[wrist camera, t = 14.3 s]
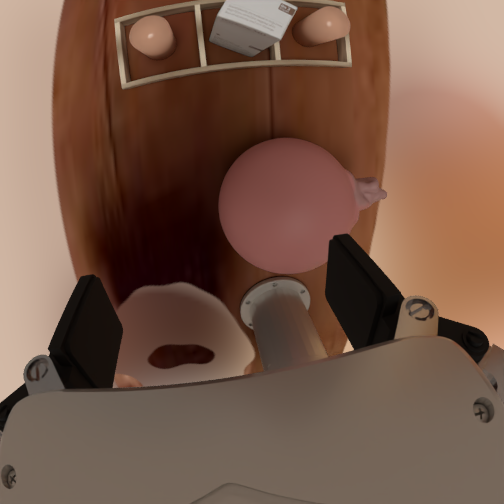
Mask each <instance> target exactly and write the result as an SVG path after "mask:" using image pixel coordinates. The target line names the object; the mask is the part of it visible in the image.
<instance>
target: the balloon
mask: <svg viewBox="0 0 504 504" xmlns="http://www.w3.org/2000/svg"><path fill="white" fill-rule="evenodd" d="M386 197H387V192H386V191H384V190H382V189H381V188H379V183H378V180H377V179H376V178H375V177H368V178H361V179H355V178H354V176H353V174H352V173H351V172H349V171H348V170H346V169H344V168H343V167H342V165H341V164H340V163H339V162H338V161H337V160H336V158H335V157H334V156H332V155H331V154H330V153H329V152H328V151H326V150H325V149H323V148H322V147H320V146H318V145H316V144H314V143H311V142H309V141H305V140H301V139H296V138H276V139H271V140H267V141H264V142H261V143H259V144H257V145H255V146H253V147H251V148H250V149H248V150H247V151H245V152H244V153H243V154H242V155H240V156H239V157H238V158H237V159H236V161H235V162H234V163H233V164H232V166H231V167H230V168H229V170H228V172H227V173H226V175H225V178H224V180H223V183H222V186H221V189H220V194H219V216H220V221H221V225H222V228H223V231H224V233H225V235H226V237H227V239H228V241H229V242H230V244H231V245H232V247H233V248H234V249H235V250H236V251H237V253H238V254H239V255H241V256H242V257H243V258H244V259H245V260H247V261H248V262H249V263H251V264H253V265H254V266H256V267H258V268H261V269H263V270H266V271H269V272H273V273H279V274H296V273H302V272H306V271H309V270H312V269H315V268H317V267H319V266H321V265H322V264H324V263H326V262H327V261H328V248H329V240H330V239H333V236H334V235H339V234H346V233H348V234H350V231H351V229H352V227H353V226H354V225H355V224H356V222H357V221H358V219H359V211H360V210H363V209H366V208H368V207H370V206H371V205H372V203H374V202H376V201H379V200H381V199H385V198H386Z"/></svg>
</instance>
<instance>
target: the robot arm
mask: <svg viewBox="0 0 504 504" xmlns="http://www.w3.org/2000/svg"><path fill="white" fill-rule="evenodd" d="M325 295H326V299H327V301H328V303H329V305H330V307H331V308H332V310H333V312H334V314H335V315H336V317H337V319H338V321H339V323H340V324H341V326H342V328H343V330H344V332H345V334H346V335H347V337H348V339H349V341H350V343H351V345H352V347H353V348H354V350H353V351H350V352H346V353H342V354H338V355H334V356H330V357H328V355H327V352H326V350H325V348H324V346H323V344H322V341H321V339H320V337H319V335H318V333H317V330H316V328H315V326H314V324H313V322H312V320H311V318H310V315H309V313H308V309H309V306H310V295H309V292H308V290H307V288H306V287H305V285H304V284H303V283H301V282H300V281H298V280H296V279H294V278H290V277H274V278H270V279H267V280H264V281H262V282H260V283H258V284H256V285H255V286H253V287H252V288H251V289H250V290H249V291H248V292H247V293H246V294H245V296H244V297H243V299H242V301H241V305H240V313H241V318H242V320H243V322H244V323H245V324H246V325H247V326H248V327H249V328H251V329H253V330H254V333H255V337H256V341H257V345H258V349H259V353H260V357H261V361H262V365H263V369H264V372H259V373H253V374H248V375H242V376H236V377H230V378H223V379H216V380H208V381H201V382H192V383H183V384H172V385H161V386H148V387H130V388H112V387H113V381H114V375H115V370H116V364H117V359H118V353H119V349H120V344H121V339H122V334H123V328H122V324H121V322H120V321H119V319H118V316H117V314H116V312H115V310H114V308H113V306H112V304H111V302H110V300H109V298H108V296H107V293H106V291H105V289H104V287H103V284H102V282H101V280H100V278H98V277H96V276H95V275H93V274H92V275H86V276H81V277H80V279H79V281H78V283H77V285H76V287H75V289H74V291H73V293H72V295H71V297H70V299H69V301H68V303H67V305H66V308H65V310H64V312H63V314H62V317H61V319H60V321H59V323H58V325H57V328H56V330H55V332H54V335H53V337H52V340H51V342H50V345H49V347H48V350H49V351H50V355H49V356H47V355H39V356H36V357H34V358H33V359H32V360H30V361H29V363H28V364H27V365H26V367H25V369H24V374H23V375H24V381H25V383H24V384H23V385H22V386H21V387H19V388H18V389H17V390H16V391H14V392H13V393H12V394H11V395H9V396H8V397H7V398H6V399H5V400H4V401H2V402H1V403H0V504H504V350H503V349H501V348H499V347H498V346H496V345H494V344H493V345H492V347H491V346H489V341H488V338H487V336H486V335H485V334H484V333H483V332H482V331H481V330H479V329H477V328H475V327H472V326H469V325H465V324H462V323H459V322H455V321H452V320H449V319H445V318H442V317H439V316H438V309H437V307H436V305H435V304H434V303H433V302H432V301H430V300H429V299H427V298H425V297H421V296H410V297H407V298H406V299H405V298H404V297H403V296H402V294H401V292H400V291H399V290H398V289H397V287H396V286H395V285H394V284H393V283H392V282H391V280H390V279H389V278H388V277H387V276H386V275H385V274H384V272H383V271H382V270H381V269H380V268H379V267H378V266H377V265H376V263H375V262H374V261H373V260H372V259H371V258H370V257H369V256H368V255H367V253H366V252H365V251H364V250H363V249H362V248H361V247H360V246H359V245H358V244H357V243H356V241H355V240H354V239H353V238H352V237H351V236H350V235H349V234H348V233H346V234H339V235H334V236H333V239H330V240H329V248H328V263H327V277H326V288H325Z"/></svg>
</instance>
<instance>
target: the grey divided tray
mask: <svg viewBox="0 0 504 504" xmlns="http://www.w3.org/2000/svg"><path fill="white" fill-rule="evenodd" d="M225 1H226V0H198V1H191V2H185V3H179V4H173V5H168V6H163V7H159V8H154V9H150V10H146V11H142V12H138V13H134V14H131V15H127V16H124V17H120V18H117V19H114V20H115V33H116V44H117V54H118V62H119V70H120V78H121V85H122V89H130V88H134V87H137V86H141V85H145V84H149V83H154V82H158V81H162V80H167V79H172V78H177V77H182V76H188V75H194V74H200V73H207V72H214V71H222V70H231V69H241V68H253V67H271V66H324V67H342V68H344V67H352V63H351V51H350V40H349V30H350V21H349V19H348V17H347V15H346V8H345V3H341V2H335V1H328V0H284V1H286V2H288V3H290V4H292V5H294V6H297V7H310V8H321V9H319V10H318V11H316V12H314V13H312V14H311V15H309V16H307V17H306V18H304V19H302V20H301V21H299V22H297V23H296V24H295V25H294V27H293V29H292V34H293V37H294V39H295V40H296V41H297V42H298V43H299V44H300V45H302V46H306V47H312V46H316V45H319V44H322V43H325V42H328V41H332V40H335V39H337V49H338V60H339V62H338V61H321V60H281V56H280V46H279V41H278V42H276V43H274V44H273V45H271V46H269V49H270V59H271V60H266V61H249V62H237V63H227V64H218V65H211V66H207V65H206V56H205V48H204V39H203V30H202V21H201V11H200V10H204V9H213V8H221V7H222V6H223V4H224V2H225ZM190 11H195V18H196V27H197V36H198V45H199V54H200V62H201V67H197V68H191V69H185V70H180V71H174V72H169V73H165V74H160V75H156V76H151V77H147V78H143V79H139V80H136V81H132V82H131V79H130V72H129V64H128V56H127V46H126V36H125V26H127V25H130V24H134V23H135V24H134V25H133V27H132V29H131V31H130V35H129V38H130V42H131V44H132V45H133V46H134V47H135V48H136V49H138V50H139V51H141V52H142V53H143V54H145V55H146V56H148V57H149V58H151V59H153V60H163V59H166V58H168V57H169V56H170V55H172V54H173V52H174V51H175V49H176V39H175V37H174V34H173V32H172V30H171V28H170V25H169V23H168V22H167V20H165V19H164V18H163V17H162V16H167V15H172V14H178V13H184V12H190Z"/></svg>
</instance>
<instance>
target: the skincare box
mask: <svg viewBox="0 0 504 504" xmlns="http://www.w3.org/2000/svg"><path fill="white" fill-rule="evenodd" d="M296 10H297V7H296V6H294V5H292V4H290V3H288V2H286V1H284V0H226V1H225V2H224V4H223V6H222V7H221V9H220V11H219V12H218V14H217V16H216V20H215V22H214V25H213V29H212V32H211V35H210V38H209V41H210V42H212V43H214V44H217V45H219V46H222V47H224V48H227V49H230V50H232V51H235V52H238V53H241V54H243V55H246V56H249V57H253V56H255V55H256V54H258V53H260V52H261V51H263V50H264V49H266V48H268V47H269V46H271V45H273V44H274V43H276V42H278V41H280V40H281V39H282V37H283V35H284V33H285V31H286V29H287V27H288V25H289V23H290V21H291V19H292V18H293V16H294V14H295V12H296Z"/></svg>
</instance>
